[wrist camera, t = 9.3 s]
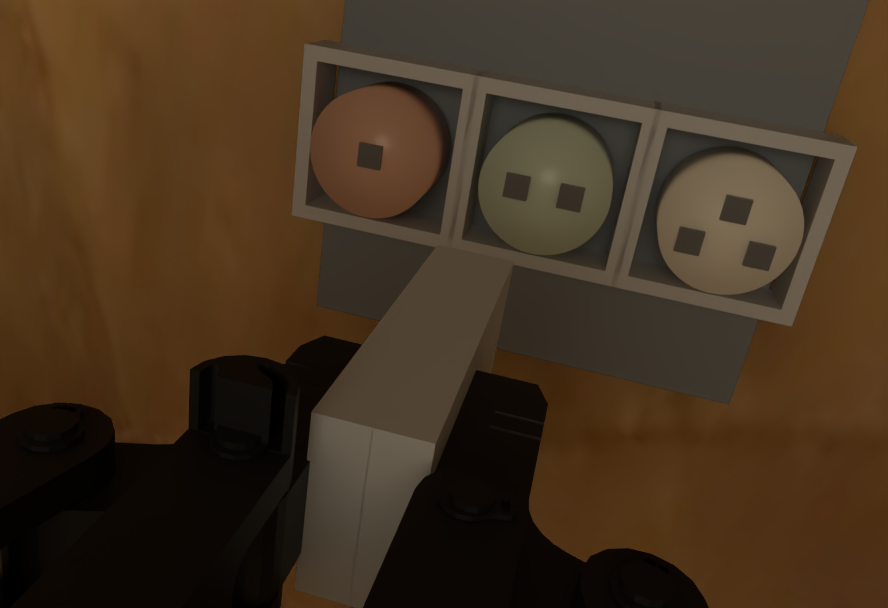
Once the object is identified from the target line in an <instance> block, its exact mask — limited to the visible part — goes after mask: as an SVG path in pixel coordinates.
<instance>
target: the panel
mask: <svg viewBox="0 0 888 608" xmlns="http://www.w3.org/2000/svg"><path fill="white" fill-rule="evenodd" d="M868 2H869V0H345V7H344V18H343V29H342V40H341V43H338V42H333V41H327V40H324V41H317V42H311V43H305V46H304V59H303V72H302V85H301V98H300V112H299V125H298V138H297V151H296V164H295V178H294V191H293V204H292V215H293V216H297V217H302V218H306V219H311V220H315V221H320V222H324V232H323V242H322V253H321V264H320V274H319V285H318V296H317V306H320V307H324V308H329V309H333V310H337V311H341V312H345V313H349V314H354V315H358V316H362V317H366V318H370V319H374V320H379V321H381V319H382V318H383V317H384V315H385V314H386V313H387V311H388V310H389V309H390V307H391V306H392V305H393V303H394V302H395V301H396V300H397V298H398V297H399V296H400V294H401V293H402V292H403V290H404V289H405V288H406V286H407V285H408V284H409V282H410V281H411V280H412V278H413V277H414V276H415V274H416V273H417V272H418V270H419V269H420V268H421V266H422V265H423V264H424V262H425V261H426V260H427V258H428V257H429V256H430V255H431V253H432V252H433V251H434V249H435V248H436V247H437V245H442V246H446V247H451V248H455V249H460V250H464V251H469V252H474V253H478V254H483V255H487V256H492V257H496V258H501V259H505V260H510V261H514V264H513V269H512V274H511V279H510V284H509V289H508V294H507V299H506V304H505V309H504V314H503V319H502V324H501V329H500V334H499V339H498V344H497V348H496V349H500V350H504V351H508V352H512V353H516V354H520V355H525V356H529V357H533V358H537V359H541V360H545V361H550V362H554V363H558V364H562V365H566V366H571V367H575V368H579V369H583V370H587V371H591V372H596V373H600V374H604V375H608V376H612V377H616V378H621V379H625V380H629V381H633V382H637V383H641V384H646V385H650V386H654V387H658V388H662V389H666V390H671V391H675V392H679V393H683V394H687V395H692V396H696V397H700V398H704V399H708V400H712V401H717V402H721V403H725V404H730V401H731V398H732V395H733V392H734V389H735V386H736V383H737V381H738V378H739V375H740V372H741V369H742V366H743V363H744V360H745V357H746V355H747V352H748V349H749V346H750V343H751V340H752V337H753V334H754V331H755V329H756V326H757V323H758V320H759V319H760V320H765V321H769V322H774V323H778V324H782V325H787V326H791V327H792V324H793V322H794V319H795V316H796V313H797V311H798V308H799V305H800V302H801V300H802V297H803V294H804V292H805V289H806V286H807V283H808V281H809V278H810V275H811V272H812V270H813V267H814V264H815V262H816V259H817V256H818V253H819V251H820V248H821V245H822V242H823V240H824V237H825V234H826V232H827V229H828V226H829V223H830V221H831V218H832V215H833V212H834V210H835V207H836V204H837V202H838V199H839V196H840V193H841V191H842V188H843V185H844V182H845V180H846V177H847V174H848V172H849V169H850V166H851V163H852V161H853V158H854V155H855V152H856V150H857V146H855V145H854V144H853V143H851V142H850V141H848V140H847V139H846V138H844V137H843V136H839V135H833V134H828V133H823V132H824V129H825V126H826V124H827V121H828V118H829V115H830V112H831V109H832V106H833V103H834V100H835V98H836V95H837V92H838V89H839V86H840V83H841V80H842V77H843V74H844V72H845V69H846V66H847V63H848V60H849V57H850V54H851V51H852V48H853V46H854V43H855V40H856V37H857V34H858V31H859V28H860V25H861V22H862V20H863V17H864V14H865V11H866V8H867V5H868ZM336 65H339V72H338V82H337V93H336V98H337V97H339V96H341V95H343V94H345V93H348V92H351V91H353V90H356V89H359V88H362V87H365V86H368V85H371V84H374V83H378V82H384V81H393V82H400V83H404V84H407V85H410V86H412V87H415V88H416V89H418V90H420V91H421V92H423V93H424V94H425V95H427V96H428V97H429V98H430V99H431V100H432V101H433V102H434V103H435V105H436V106H437V107H438V109H439V110H440V112H441V114H442V115H443V118H444V120H445V122H446V125H447V128H448V133H449V139H450V150H449V157H448V162H447V165H446V167H445V170H444V172H443V174H442V176H441V177H440V178H439V180H438V181H437V183H436V184H435V185H434V186H433V187H432V188H431V189H430V190H429V191H428V192H427V193H425V194H424V195H423V196H422V197H421V198H420V199H419V200H418V201H417V202H416V203H415V204H414V205H413V206H411V207H410V208H409V209H407V210H405V211H404V212H402V213H400V214H397V215H395V216H391V217H387V218H367V217H362V216H359V215H355V214H353V213H351V212H349V211H347V210H345V209H343V208H342V207H340V206H339V205H338V204H336V203H335V202H334V201H333V200H332V199H331V198H330V197H329V196H328V195H327V194H326V193H325V191H324V190H323V188H322V187H321V185H320V184H319V182H318V180H317V178H316V175H315V173H314V170H313V166H312V162H311V155H310V142H311V135H312V132H313V128H314V125H315V123H316V121H317V119H318V117H319V115H320V114H321V112H322V111H323V110H324V109H325V107H326V106H327V105H328V104H330V103H331V102H332V101H333V98H334V87H335V76H336ZM544 113H561V114H567V115H571V116H574V117H576V118H579V119H581V120H582V121H584V122H586V123H588V124H589V125H590V126H591V127H593V128H594V129H595V130H596V131H597V132H598V133H599V134H600V135H601V137H602V138H603V139H604V141H605V143H606V144H607V146H608V148H609V151H610V153H611V156H612V160H613V165H614V183H613V191H612V198H611V204H610V208H609V211H608V214H607V216H606V218H605V220H604V222H603V224H602V225H601V227H600V228H599V229H598V231H597V232H596V233H595V234H594V235H593V236H592V237H591V238H590V239H589V240H588V241H586V242H585V243H583V244H582V245H581V246H579V247H577V248H575V249H573V250H570V251H568V252H565V253H560V254H556V255H536V254H530V253H527V252H523V251H521V250H518V249H516V248H514V247H512V246H511V245H509V244H507V243H506V242H505V241H503V240H502V239H501V238H500V237H499V236H498V235H497V234H496V233H495V232H494V231H493V230H492V228H491V227H490V226H489V224H488V223H487V221H486V219H485V217H484V215H483V212H482V210H481V206H480V202H479V196H478V183H479V176H480V172H481V169H482V166H483V163H484V161H485V159H486V158H487V156H488V154H489V153H490V151H491V150H492V149H493V147H494V146H495V145H496V144H497V143H498V142H499V141H500V140H501V139H502V137H503V136H504V135H505V134H506V133H507V132H508V131H509V130H510V129H511V128H512V127H514V126H515V125H516V124H518V123H519V122H521V121H523V120H524V119H527V118H529V117H531V116H535V115H538V114H544ZM715 147H739V148H744V149H748V150H751V151H753V152H756V153H758V154H760V155H761V156H763V157H765V158H766V159H767V160H769V161H770V162H771V163H772V164H773V165H774V166H775V167H776V168H777V169H778V170H779V172H780V173H781V174H782V175H783V177H784V178H785V179H786V180H787V182H788V183H789V184H790V185H791V187H792V188H793V190H794V191H795V193H796V194H797V196H798V198H799V200H800V199H801V196H802V193H803V190H804V187H805V184H806V181H807V178H808V175H809V173H810V170H811V167H812V164H813V161H814V158H815V156H818V159H817V162H816V165H815V168H814V170H813V173H812V176H811V179H810V182H809V185H808V188H807V191H806V193H805V196H804V199H803V202H802V205H801V206H802V209H803V215H804V232H803V238H802V242H801V245H800V247H799V250H798V252H797V254H796V256H795V257H794V259H793V261H792V262H791V263H790V265H789V266H788V267H787V268H786V269H785V270H784V271H783V272H782V273H781V274H780V275H779V276H778V277H776V280H775V283H774V285H773V288H772V289H769V288H770V285H771V282H772V281H771V282H769V283H768V284H766V285H764V286H762V287H760V288H758V289H755V290H752V291H749V292H746V293H740V294H732V295H719V294H712V293H707V292H704V291H701V290H698V289H696V288H693V287H691V286H690V285H688V284H686V283H685V282H683V281H682V280H681V279H679V278H678V277H677V276H676V275H675V274H674V273H673V272H672V271H671V269H670V268H669V267H668V265H667V264H666V262H665V260H664V258H663V256H662V253H661V251H660V247H659V243H658V234H657V222H656V204H657V199H658V195H659V192H660V189H661V187H662V185H663V183H664V181H665V180H666V179H667V177H668V176H669V174H670V173H671V172H672V171H673V170H674V168H676V167H677V166H678V165H679V164H680V163H681V162H683V161H684V160H685V159H687V158H688V157H690V156H692V155H694V154H696V153H698V152H701V151H703V150H706V149H710V148H715Z"/></svg>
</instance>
